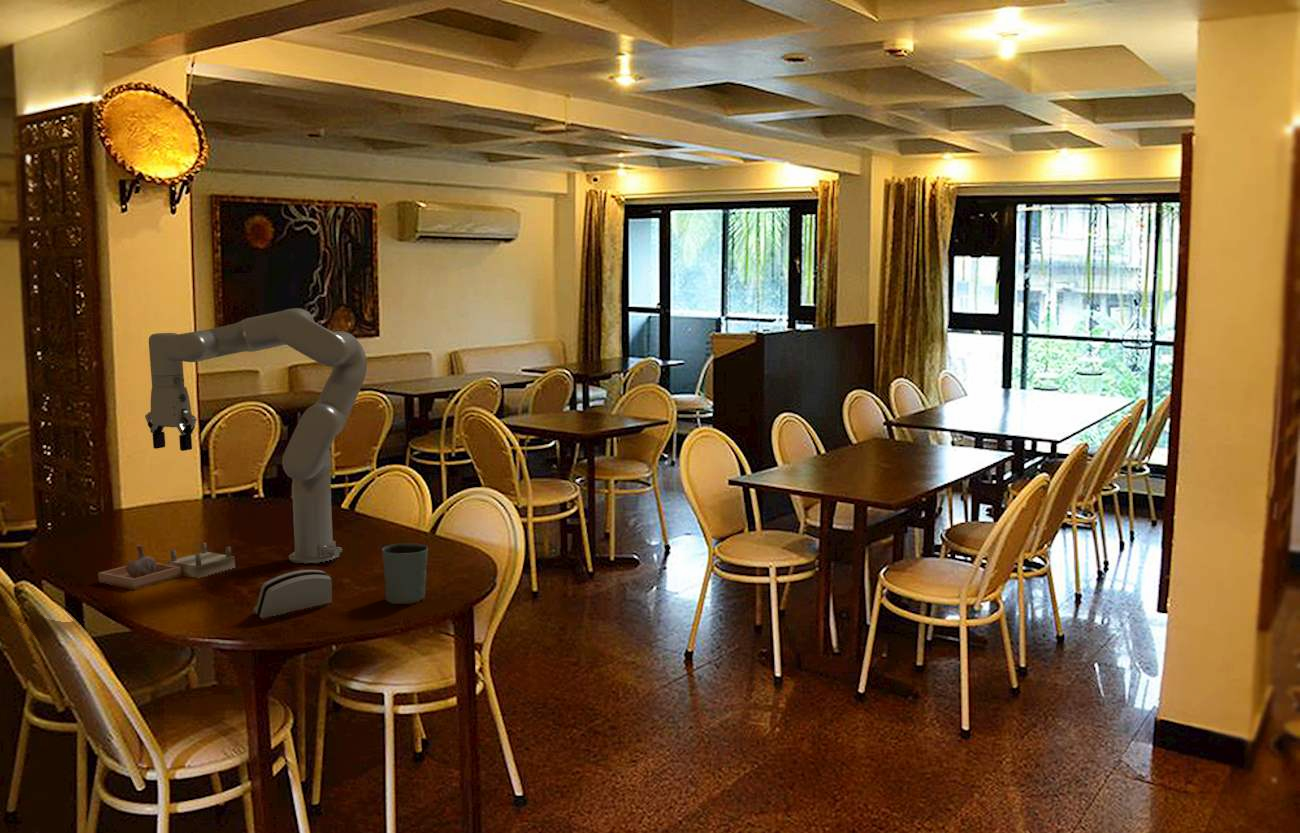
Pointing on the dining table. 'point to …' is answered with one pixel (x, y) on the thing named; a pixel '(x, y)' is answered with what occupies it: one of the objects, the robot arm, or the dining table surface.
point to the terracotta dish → (125, 580)
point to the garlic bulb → (141, 565)
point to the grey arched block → (294, 592)
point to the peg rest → (203, 562)
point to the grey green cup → (405, 572)
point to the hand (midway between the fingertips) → (172, 448)
